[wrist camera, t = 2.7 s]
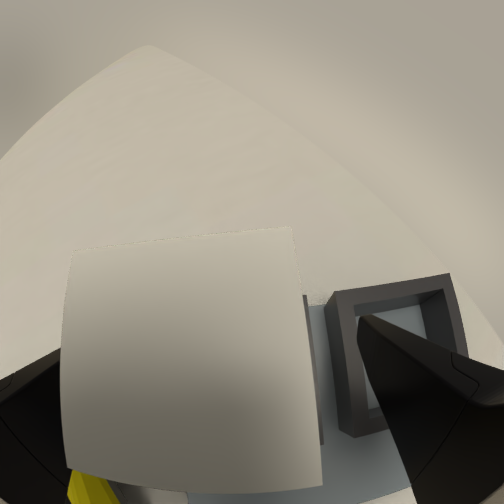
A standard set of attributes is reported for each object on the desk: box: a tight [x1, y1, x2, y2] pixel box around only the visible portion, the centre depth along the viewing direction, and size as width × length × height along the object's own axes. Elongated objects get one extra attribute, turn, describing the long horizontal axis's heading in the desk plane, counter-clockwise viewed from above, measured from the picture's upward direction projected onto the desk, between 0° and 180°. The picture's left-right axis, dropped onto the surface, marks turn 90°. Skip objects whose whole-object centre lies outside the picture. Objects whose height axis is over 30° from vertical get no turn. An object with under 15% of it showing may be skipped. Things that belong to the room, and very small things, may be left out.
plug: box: [60, 226, 323, 494], centre depth 9 cm, size 4×4×12 cm
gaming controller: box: [65, 470, 127, 504], centre depth 9 cm, size 15×6×10 cm
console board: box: [187, 273, 469, 504], centre depth 12 cm, size 13×16×4 cm
